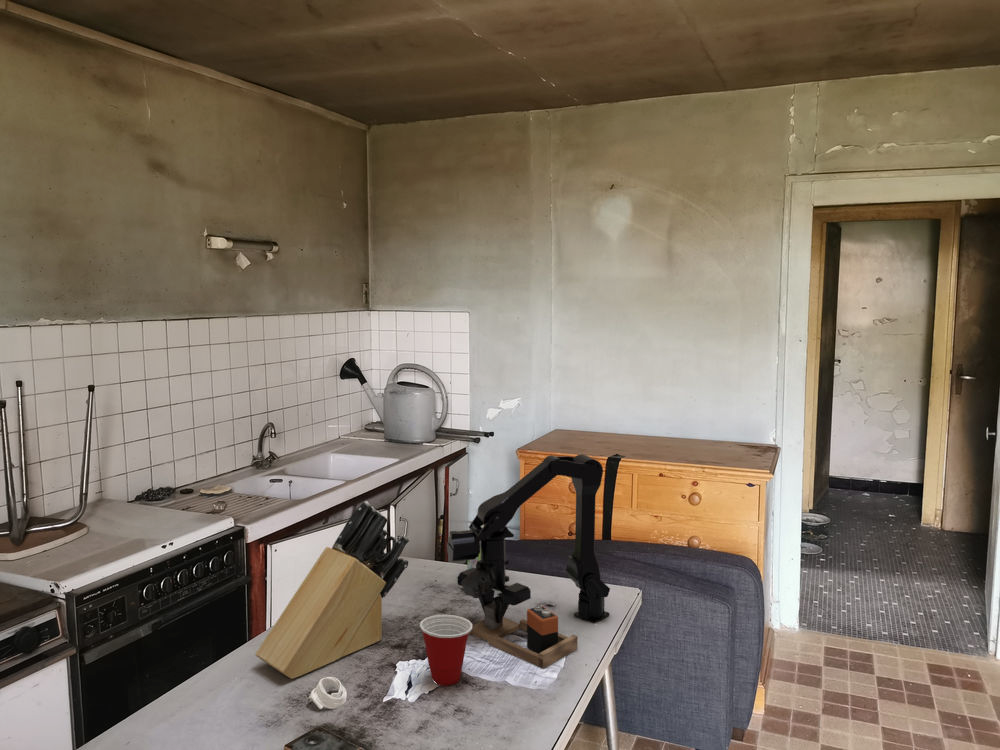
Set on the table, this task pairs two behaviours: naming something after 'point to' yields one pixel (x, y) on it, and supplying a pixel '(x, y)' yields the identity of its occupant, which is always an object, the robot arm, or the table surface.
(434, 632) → the plastic cup
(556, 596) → the table surface
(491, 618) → the wooden tray frame
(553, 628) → the battery
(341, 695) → the white plastic ring
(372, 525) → the knife block
